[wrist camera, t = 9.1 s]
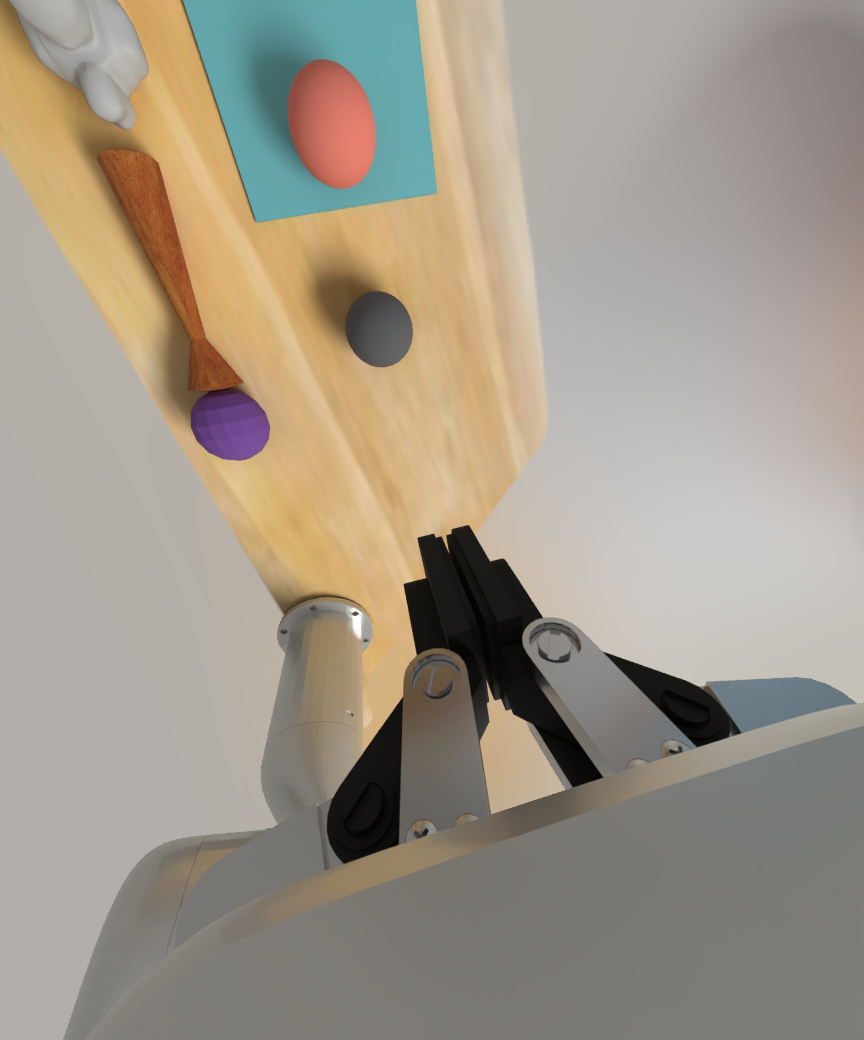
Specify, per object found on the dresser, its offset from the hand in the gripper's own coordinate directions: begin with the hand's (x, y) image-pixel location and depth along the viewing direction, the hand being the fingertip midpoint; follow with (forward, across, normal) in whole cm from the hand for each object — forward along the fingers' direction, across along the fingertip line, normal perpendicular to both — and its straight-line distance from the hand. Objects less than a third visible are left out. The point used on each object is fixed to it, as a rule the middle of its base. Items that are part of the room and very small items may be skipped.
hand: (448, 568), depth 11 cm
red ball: (+24, -1, -18) cm, 30 cm away
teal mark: (+26, -1, -22) cm, 35 cm away
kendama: (+27, +13, -9) cm, 32 cm away
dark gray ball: (+24, -1, -7) cm, 25 cm away
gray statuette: (+27, +12, -23) cm, 37 cm away
